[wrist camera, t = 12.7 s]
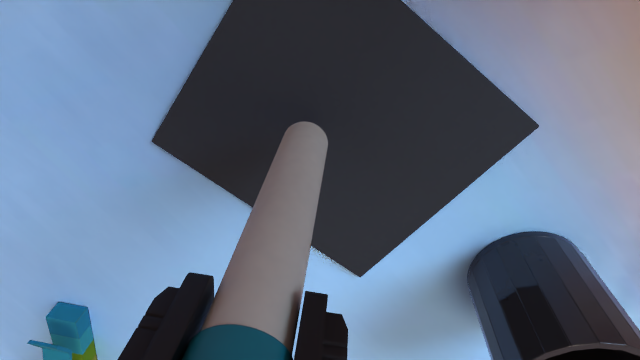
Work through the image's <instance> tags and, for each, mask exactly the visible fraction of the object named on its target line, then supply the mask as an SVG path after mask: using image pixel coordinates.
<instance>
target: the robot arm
mask: <svg viewBox="0 0 640 360" xmlns="http://www.w3.org/2000/svg"><path fill="white" fill-rule="evenodd" d="M327 298H328V295H327V294H321V293H315V292H309V291H305V297H304V303H303V309H302V315H301V321H300V327H299V333H298V339H297V345H296V352H295V358H294V360H347V344H348V328H347V326H346V323H345V321H344V319H343V316H342V314H335V313H329V312H326V308H327ZM213 300H214V278H213V276H210V275H203V274H197V273H188V274H187V276H186V277H185V279H184V281H183V283H182V285H181V287H180V288H174V287H168V288H166V289H165V290H164V291H163V292H161V293H160V294H159V295H158V296H157V297H155V298H154V300H153V301H152V303H151V305H150V306H149V308H148V310H147V311H146V314H145V316H143V318H142V320H141V321H140V323H139V325H138V328H136V330H135V332H134V333H133V335H132V337H131V338H130V340H129V342H128V343H127V345H126V347H125V348H124V350H123V352H122V353H121V355H120V357H119V358H118V360H182V358H183V356H184V353H185V351H186V349H187V347H188V344H189V342H190V341H191V339H192V338H193V337H194V336H195V335H196V334H197V333H199V332H200V330H201V328H202V326H203V323H204V321H205V319H206V316H207V314H208V312H209V309H210V307H211V305H212V302H213Z"/></svg>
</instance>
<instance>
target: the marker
mask: <svg viewBox="0 0 640 360" xmlns="http://www.w3.org/2000/svg"><path fill="white" fill-rule="evenodd" d="M327 148H328V140H327V136H326V134H325V132H324V131H323V130H322V129H321V128H320V127H319V126H318V125H316V124H314V123H311V122H298V123H295V124H293V125H291V126H290V127H289V128H288V129H287V130H286V132H285V134H284V136H283V138H282V141H281V143H280V145H279V148H278V150H277V152H276V155H275V157H274V159H273V162H272V164H271V166H270V169H269V171H268V173H267V176H266V178H265V180H264V183H263V185H262V188H261V190H260V192H259V195H258V197H257V199H256V202H255V204H254V206H253V209H252V211H251V213H250V216H249V218H248V220H247V223H246V225H245V227H244V230H243V232H242V234H241V237H240V239H239V241H238V244H237V246H236V248H235V251H234V253H233V255H232V258H231V260H230V262H229V265H228V267H227V270H226V272H225V274H224V277H223V279H222V281H221V284H220V286H219V288H218V291H217V293H216V295H215V298H214V300H213V302H212V305H211V307H210V309H209V312H208V314H207V316H206V319H205V321H204V323H203V326H202V328H201V330H200V332H199V333H197V334H196V335H195V336H194V337H193V338H192V339H191V341H190V342H189V344H188V347H187V349H186V351H185V353H184V356H183V358H182V360H293V358H292V351H293V345H294V339H295V334H296V328H297V322H298V316H299V310H300V305H301V299H302V293H303V287H304V281H305V276H306V270H307V264H308V258H309V252H310V247H311V241H312V235H313V229H314V223H315V217H316V212H317V206H318V200H319V194H320V188H321V183H322V177H323V171H324V165H325V159H326V154H327Z"/></svg>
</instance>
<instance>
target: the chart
mask: <svg viewBox="0 0 640 360" xmlns="http://www.w3.org/2000/svg"><path fill="white" fill-rule="evenodd" d="M46 320H47V324H48V328H49V331H50V335H51V339H52V342H53V344H48V343H43V342H38V341H32V340H30V341H29V342H28V343H27V344H31V345H34V346H38V347H41V348H42V349H43V360H97V355H96V350H95V345H94V339H93V334H92V329H91V323H90V318H89V312H88V307H82V306H77V305H72V304H67V303H62V302H58V303H57V304H56V306H55V307H54V308H53V309H52V310H51V311H50V312H49V314H48V315H47V316H46Z"/></svg>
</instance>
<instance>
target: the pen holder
mask: <svg viewBox="0 0 640 360" xmlns="http://www.w3.org/2000/svg"><path fill="white" fill-rule="evenodd" d="M467 283H468V287H469V291H470V295H471V299H472V302H473V305H474V308H475V311H476V314H477V317H478V320H479V323H480V327H481V330H482V333H483V336H484V339H485V342H486V345H487V348H488V351H489V354H490V358H491V360H640V330H639V329H638V328H637V326H636V325H635V324H634V322H633V321H632V320H631V318H630V317H629V316H628V314H627V313H626V311H625V310H624V309H623V307H622V306H621V305H620V303H619V302H618V301H617V299H616V298H615V297H614V295H613V294H612V293H611V291H610V290H609V289H608V287H607V286H606V284H605V283H604V282H603V280H602V279H601V278H600V276H599V275H598V274H597V272H596V271H595V270H594V268H593V267H592V266H591V264H590V263H589V262H588V260H587V259H586V257H585V256H584V255H583V253H582V252H580V251H579V249H578V248H577V247H576V246H575V245H574V244H573V243H572V242H570V241H569V240H567V239H565V238H563V237H561V236H559V235H556V234H552V233H547V232H523V233H517V234H513V235H510V236H506V237H504V238H501V239H499V240H497V241H495V242H493V243H492V244H490V245H489V246H487V247H486V248H484V249H483V250H482V251H481V252H480V253H479V254H478V255H477V256H476V257H475V259H474V260H473V262H472V264H471V265H470V268H469V271H468V276H467Z"/></svg>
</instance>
